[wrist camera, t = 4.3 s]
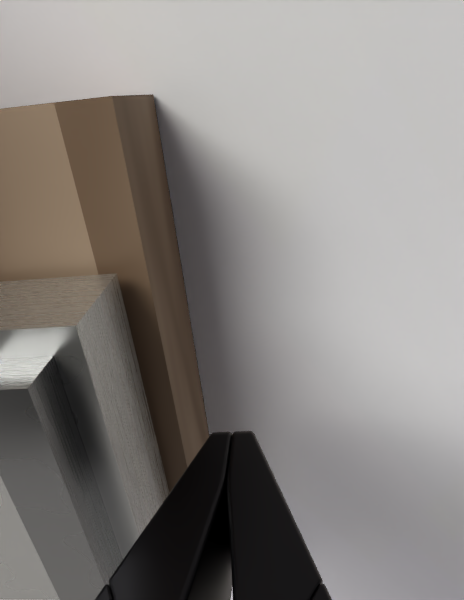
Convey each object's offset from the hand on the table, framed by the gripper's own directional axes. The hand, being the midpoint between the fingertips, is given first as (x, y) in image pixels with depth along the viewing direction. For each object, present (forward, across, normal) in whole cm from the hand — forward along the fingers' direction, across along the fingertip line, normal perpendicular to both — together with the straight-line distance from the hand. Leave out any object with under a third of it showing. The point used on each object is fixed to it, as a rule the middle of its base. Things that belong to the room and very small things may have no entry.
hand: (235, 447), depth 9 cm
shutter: (+1, +6, 0) cm, 6 cm away
